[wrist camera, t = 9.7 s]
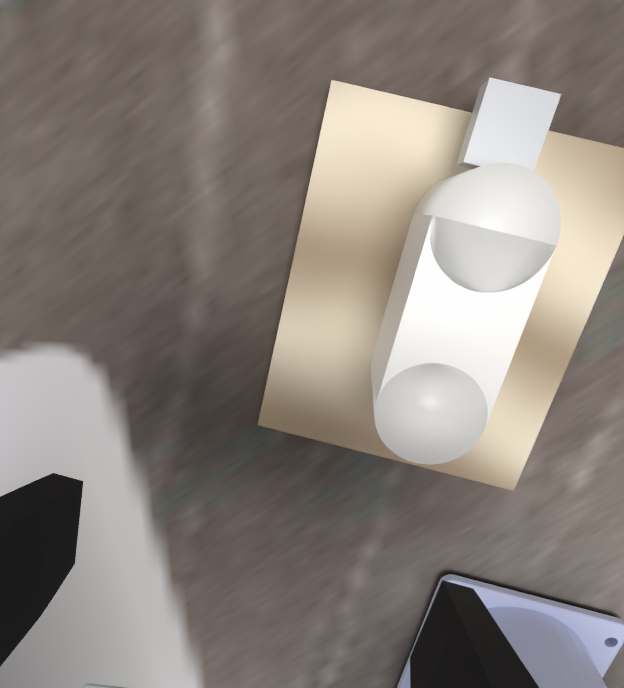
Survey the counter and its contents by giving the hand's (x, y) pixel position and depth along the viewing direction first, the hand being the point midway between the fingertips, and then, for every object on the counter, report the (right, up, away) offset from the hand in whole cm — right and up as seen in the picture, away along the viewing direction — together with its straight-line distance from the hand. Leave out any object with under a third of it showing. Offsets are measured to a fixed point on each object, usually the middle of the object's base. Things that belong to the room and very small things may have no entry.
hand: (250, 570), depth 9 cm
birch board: (+5, +6, +8) cm, 11 cm away
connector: (+5, +6, +6) cm, 10 cm away
